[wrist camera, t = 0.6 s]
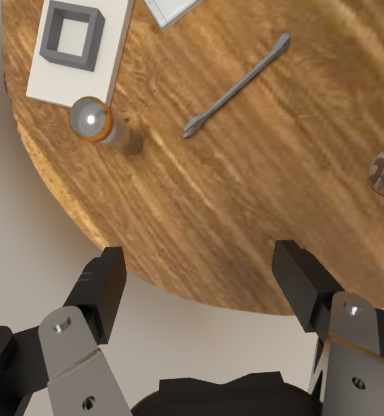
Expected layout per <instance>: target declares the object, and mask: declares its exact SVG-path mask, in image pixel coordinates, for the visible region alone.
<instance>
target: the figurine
mask: <svg viewBox="0 0 384 416" xmlns="http://www.w3.org/2000/svg"><path fill="white" fill-rule="evenodd" d="M368 182H369V184H370V186H371V187H372V188H373V189H374V190H375V191H376V192H377V193H379V194H381V195H383V196H384V151H383V152H381V153H379V155H378V156H377V157H376V158H375V159H373V160H372V161H371V164H370V169H369V175H368Z"/></svg>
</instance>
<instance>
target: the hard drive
mask: <svg viewBox="0 0 384 416" xmlns="http://www.w3.org/2000/svg"><path fill="white" fill-rule="evenodd" d="M143 1H144V3H145V4H146V6H147V8H148V9H149V11H150V12H151V14H152V16H153V17H154V19H155V21H156V22H157V24H158V25H159V27H160V29H161V30H162V32H164V31H165V30H166V29H168V28H169V27H170V26H171V25H173V24H174V23H175V22H177V21H178V20H179V19H181V18H182V17H183V16H185V15H186V14H187V13H189V12H190V11H191V10H192V9H194V8H195V7H196V6H198V5H199V4H200V3H202V2H203V1H204V0H143Z"/></svg>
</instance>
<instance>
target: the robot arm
mask: <svg viewBox="0 0 384 416" xmlns="http://www.w3.org/2000/svg"><path fill="white" fill-rule="evenodd" d="M272 271H273V275H274V277H275V279H276V280H277V282H278V284H279V286H280V288H281V289H282V291H283V293H284V295H285V297H286V299H287V300H288V302H289V304H290V306H291V308H292V309H293V311H294V313H295V315H296V317H297V318H298V320H299V322H300V324H301V326H302V327H303V329H304V331H305V333H307V332H316V333H317V335H318V340H317V344H316V350H315V356H314V362H313V367H312V373H311V379H310V384H309V388H308V391H307V392H306V391H304V390H302V389H300V388H298V387H296V386H293V385H291V384H288V383H284V381H283V379H282V376H281V373H280V371H278V372H264V373H251V374H248V375H246V376H243V377H241V378H238V379H236V380H233V381H231V382H228V383H226V384H221V385H220V384H215V383H211V382H207V381H202V380H198V379H193V378H179V379H165V380H164V379H163V380H160V382H159V391H156V392H154V393H152V394H150V395H148V396H147V397H145V398H144V399H142V400H141V401H139V402H138V403H137V404H136V405H135V406H134V407H133V408H132V409H131V410H130V409H129V407H128V405H127V403H126V401H125V399H124V396H123V394H122V392H121V390H120V388H119V386H118V384H117V382H116V380H115V378H114V375H113V374H112V372H111V369H110V367H109V365H108V363H107V361H106V359H105V357H104V355H103V352H102V351H101V349H100V348H98V345H100V344H108V341H109V338H110V334H111V331H112V327H113V324H114V321H115V317H116V314H117V311H118V307H119V304H120V300H121V297H122V293H123V290H124V286H125V283H126V277H127V272H126V265H125V260H124V254H123V249H122V247H121V246H120V247H105V249H104V251H103V253H102V255H101V257H97V258H94V259H92V260H91V261H90V262H89V263H88V264H87V265H86V266H85V268H84V270H83V272H82V274H81V275H80V277H79V279H78V281H77V282H76V284H75V286H74V288H73V289H72V291H71V293H70V295H69V296H68V298H67V300H66V302H65V303H64V305H63V307H62V308H59V309H57V310H55V311H53V312H52V313H50V314H49V315H48V316H47V317H46V318H45V319H44V320H43V321H42V322H41V324H40V325H39V326H37V327H34V328H30V329H27V330H24V331H21V332H18V333H15V334H13V333H12V331H11V329H10V328H9V327H7V326H0V416H23V415H24V412H25V410H26V408H27V406H28V403H29V401H30V399H31V397H32V394H33V393H34V392H36V391H39V390H41V389H44V388H46V387H48V392H49V396H50V400H51V405H52V409H53V414H54V416H384V310H382V309H377V308H374V307H373V306H372V305H371V304H370V303H369V302H368V301H367V300H366V299H364V298H363V297H361V296H359V295H357V294H354V293H351V292H346V291H345V290H344V289H343V288H342V287H341V286H340V284H339V283H338V282H337V281H336V280H335V279H334V278H333V277H332V275H331V274H330V273H329V272H328V271H327V270H325V268H324V266H323V265H322V264H320V262H319V261H318V260H317V259H316V257H315V256H314V255H313V254H311V253H310V252H308V251H306V250H305V249H301V248H300V247H299V246H298V245H297V244H296V243H295V241H294V240H277V241H276V244H275V249H274V255H273V260H272Z"/></svg>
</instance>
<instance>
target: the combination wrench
mask: <svg viewBox="0 0 384 416" xmlns="http://www.w3.org/2000/svg"><path fill="white" fill-rule="evenodd" d="M290 40H291V36H290V35H289V34H288V33H284V34H283V35H282V36H281V37H280V38H279V39H278V40H277V42H276V43H275V45H274V47H273V49H272V50H271V52H270V53H269V54H268V55H267V56H266V57H265V58H264V59H263V60H261V61H260V62H259V63H258V64H257V65H256V66H255V67H254V68H253V69H252V70H250V71H249V72H248V73H247V74H246V75H245V76H244V77H243V78H242V79H241V80H240V81H238V82H237V83H236V84H235V85H234V86H233V87H232V88H231V89H230V90H229V91H227V92H226V93H225V94H224V95H223V96H222V97H221V98H220V99H219V100H218V101H216V102H215V103H214V104H213V105H212V106H211V107H210V108H209V109H208V110H207V111H205V112H204V113H202V114H201V115H197V116H195V117H194V118H192V119H191V120H190V121H189V122H188V123H187V125H186V126H185V127H184V131H187V130H188V129H190V128H191V129H190V130H188V131H187V132H186V133H185V134H184V135H183V137H184V138H186V137H189V136H191V135H193V134H194V133H195V132H196V131H197V130H198V129H199V128H200V127H201V125H202V124H203V122H204V121H205V120H206V119H207V118H208V117H209V116H210V115H211V114H212V113H213V112H215V111H216V110H217V109H218V108H219V107H220V106H222V105H223V104H224V103H225V102H226V101H227V100H228V99H229V98H230V97H232V96H233V95H234V94H235V93H236V92H237V91H238V90H239V89H240V88H242V87H243V86H244V85H245V84H246V83H247V82H248V81H249V80H251V79H252V78H253V77H254V76H255V75H256V74H257V73H258V72H259V71H261V70H262V69H263V68H264V67H265V66H266V65H267V64H268V63H269V62H271V61H272V60H273V59H274V58H275V57H278V56H279V55H280V53H281V52H282V51H284V49H285V48H286V47H287V45H288V43H289V42H290Z"/></svg>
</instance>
